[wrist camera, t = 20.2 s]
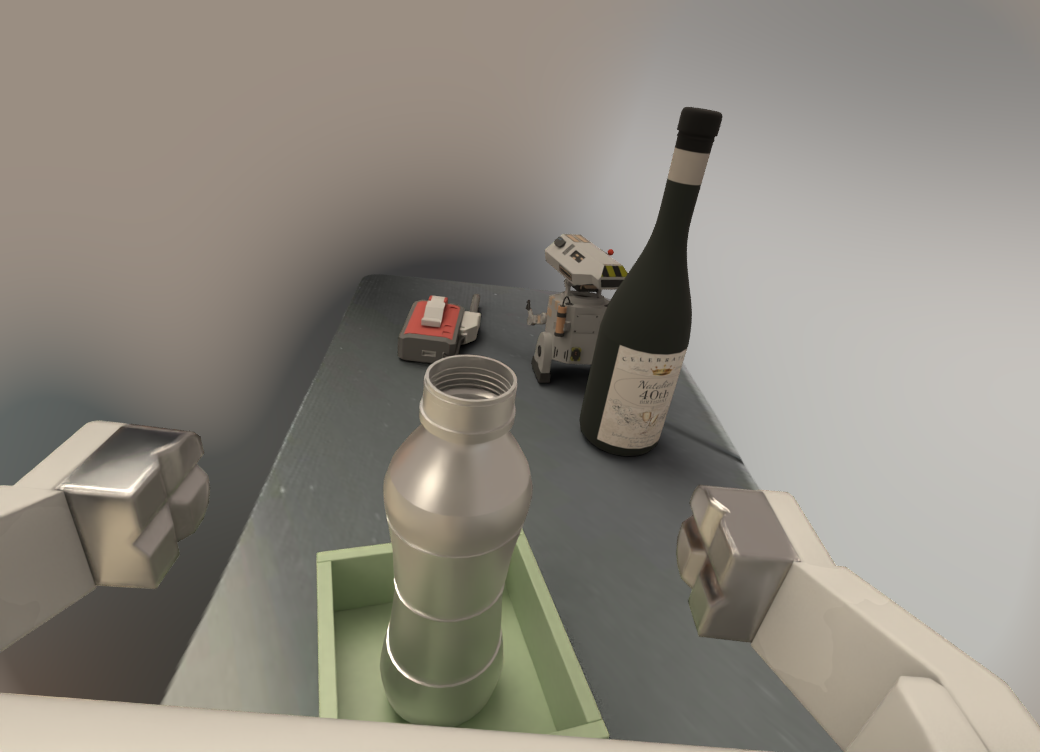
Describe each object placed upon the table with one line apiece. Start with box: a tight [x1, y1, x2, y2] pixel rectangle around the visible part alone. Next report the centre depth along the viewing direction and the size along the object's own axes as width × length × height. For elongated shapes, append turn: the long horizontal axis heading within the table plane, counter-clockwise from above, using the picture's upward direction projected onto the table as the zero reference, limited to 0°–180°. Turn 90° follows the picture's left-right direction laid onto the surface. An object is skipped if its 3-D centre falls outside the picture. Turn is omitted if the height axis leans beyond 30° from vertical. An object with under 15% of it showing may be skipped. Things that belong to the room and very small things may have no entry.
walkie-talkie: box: [398, 294, 481, 364], centre depth 72 cm, size 9×4×20 cm
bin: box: [317, 529, 609, 739], centre depth 31 cm, size 14×13×5 cm
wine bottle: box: [580, 107, 722, 456], centre depth 50 cm, size 8×8×30 cm
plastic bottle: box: [380, 355, 533, 727], centre depth 27 cm, size 6×7×20 cm
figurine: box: [526, 234, 628, 382], centre depth 65 cm, size 9×12×15 cm
